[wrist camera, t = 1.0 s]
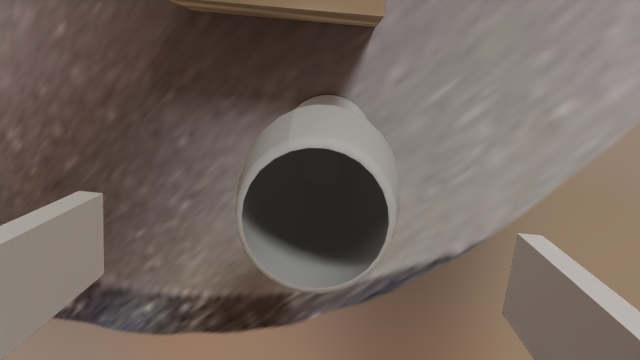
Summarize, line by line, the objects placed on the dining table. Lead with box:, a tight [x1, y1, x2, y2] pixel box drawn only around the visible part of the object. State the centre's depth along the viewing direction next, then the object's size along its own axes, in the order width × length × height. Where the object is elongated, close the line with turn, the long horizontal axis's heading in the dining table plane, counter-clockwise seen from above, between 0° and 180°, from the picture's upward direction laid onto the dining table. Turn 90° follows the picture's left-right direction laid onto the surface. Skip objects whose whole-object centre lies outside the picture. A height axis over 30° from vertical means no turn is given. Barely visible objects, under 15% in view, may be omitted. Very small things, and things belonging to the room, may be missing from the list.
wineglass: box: [235, 95, 399, 294], centre depth 27 cm, size 8×8×21 cm
